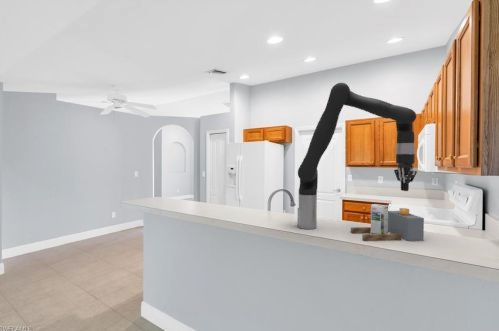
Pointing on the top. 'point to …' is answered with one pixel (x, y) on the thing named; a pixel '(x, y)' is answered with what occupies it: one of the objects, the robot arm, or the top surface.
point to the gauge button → (403, 211)
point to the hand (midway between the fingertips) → (404, 190)
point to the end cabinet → (406, 226)
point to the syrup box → (379, 219)
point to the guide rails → (374, 235)
